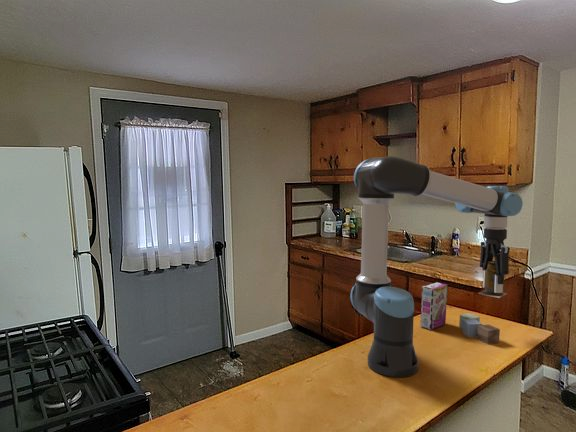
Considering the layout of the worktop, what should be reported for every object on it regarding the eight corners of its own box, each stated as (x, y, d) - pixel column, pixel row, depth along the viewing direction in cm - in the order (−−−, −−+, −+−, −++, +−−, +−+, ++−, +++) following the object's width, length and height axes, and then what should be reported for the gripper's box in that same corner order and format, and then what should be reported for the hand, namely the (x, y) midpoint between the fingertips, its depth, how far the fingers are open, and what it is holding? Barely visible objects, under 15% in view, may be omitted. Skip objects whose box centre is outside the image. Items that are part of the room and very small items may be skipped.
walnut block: (487, 344, 136) (488, 330, 135) (476, 339, 141) (477, 325, 140) (499, 342, 137) (499, 329, 137) (488, 337, 142) (488, 324, 142)
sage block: (470, 331, 147) (470, 319, 147) (459, 327, 152) (459, 315, 152) (479, 329, 150) (479, 317, 149) (468, 325, 154) (468, 313, 154)
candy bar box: (431, 331, 148) (433, 289, 147) (420, 327, 152) (421, 286, 150) (446, 324, 155) (448, 284, 154) (435, 320, 159) (436, 281, 158)
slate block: (468, 337, 142) (468, 324, 142) (462, 332, 147) (462, 319, 147) (481, 337, 142) (482, 324, 142) (475, 332, 147) (475, 319, 147)
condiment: (507, 293, 144) (509, 262, 143) (499, 298, 138) (501, 265, 137) (486, 290, 149) (488, 259, 148) (478, 294, 143) (479, 262, 142)
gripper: (523, 231, 133) (519, 297, 135) (489, 225, 152) (486, 283, 154) (502, 231, 132) (499, 297, 134) (470, 225, 151) (468, 283, 153)
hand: (492, 289), depth 144 cm, fingers closed on condiment, 6 cm apart
